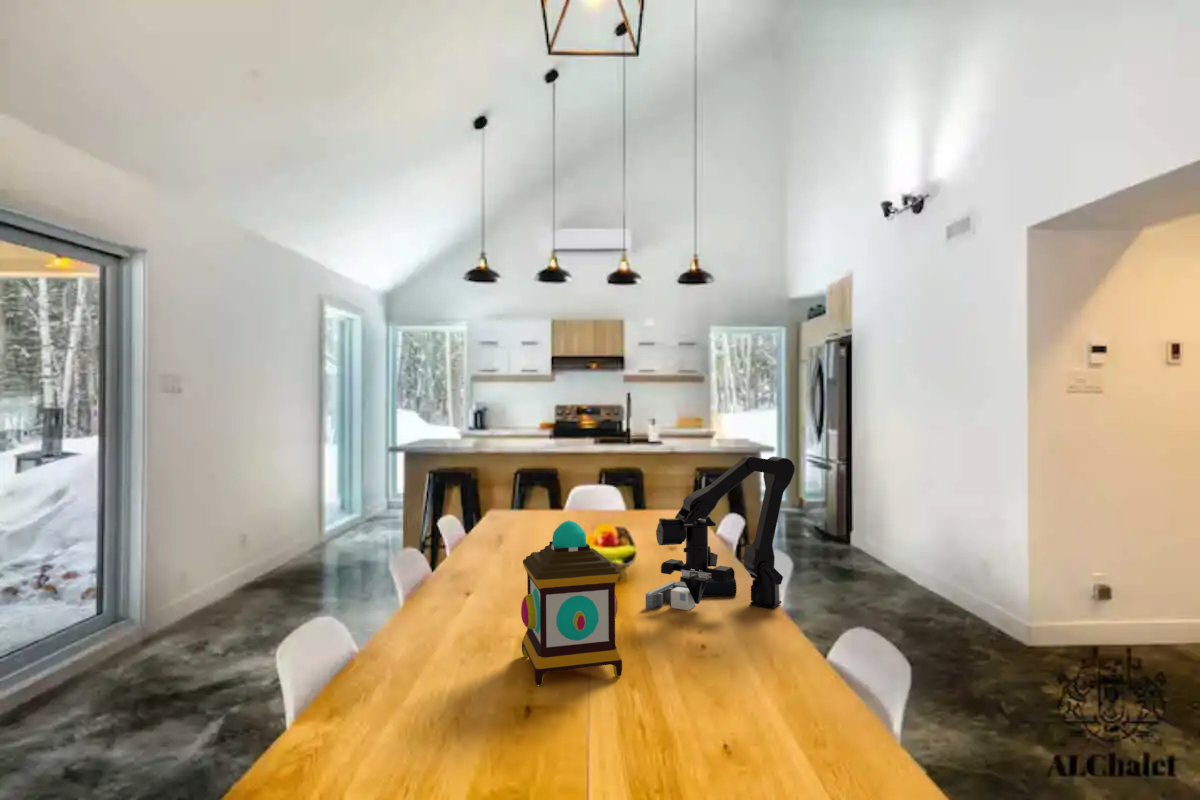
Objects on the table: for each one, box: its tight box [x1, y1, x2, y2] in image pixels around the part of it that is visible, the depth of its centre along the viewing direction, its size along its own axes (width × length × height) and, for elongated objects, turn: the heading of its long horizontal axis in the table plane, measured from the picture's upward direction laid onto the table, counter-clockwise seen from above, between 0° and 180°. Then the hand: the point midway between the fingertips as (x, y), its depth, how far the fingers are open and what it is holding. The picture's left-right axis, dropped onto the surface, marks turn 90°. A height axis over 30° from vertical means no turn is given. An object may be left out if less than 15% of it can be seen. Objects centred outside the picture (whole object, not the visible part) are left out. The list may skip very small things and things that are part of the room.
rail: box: [645, 581, 677, 611], centre depth 186 cm, size 3×14×4 cm, turn 146°
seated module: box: [673, 580, 688, 588], centre depth 188 cm, size 5×4×4 cm
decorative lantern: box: [520, 519, 623, 687], centre depth 142 cm, size 20×20×30 cm
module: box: [670, 587, 696, 611], centre depth 182 cm, size 5×4×4 cm
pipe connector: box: [679, 570, 738, 597], centre depth 197 cm, size 12×5×15 cm
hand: (697, 603), depth 180 cm, fingers closed
